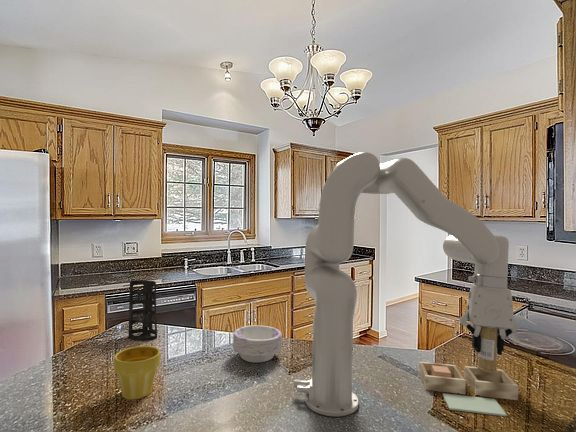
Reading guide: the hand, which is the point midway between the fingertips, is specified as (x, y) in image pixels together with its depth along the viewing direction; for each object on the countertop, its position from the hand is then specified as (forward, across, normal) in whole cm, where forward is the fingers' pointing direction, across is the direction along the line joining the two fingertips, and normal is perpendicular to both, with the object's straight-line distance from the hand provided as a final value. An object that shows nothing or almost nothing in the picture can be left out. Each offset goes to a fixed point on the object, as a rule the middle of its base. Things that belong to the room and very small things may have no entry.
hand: (487, 351), depth 91 cm
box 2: (+10, +1, 0) cm, 10 cm away
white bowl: (+12, -64, +6) cm, 65 cm away
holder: (+13, -109, +12) cm, 110 cm away
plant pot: (+13, -86, -24) cm, 90 cm away
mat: (+10, -6, -10) cm, 15 cm away
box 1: (+10, -11, 0) cm, 15 cm away
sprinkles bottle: (+5, 0, 0) cm, 5 cm away
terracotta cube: (+10, -11, 0) cm, 15 cm away
